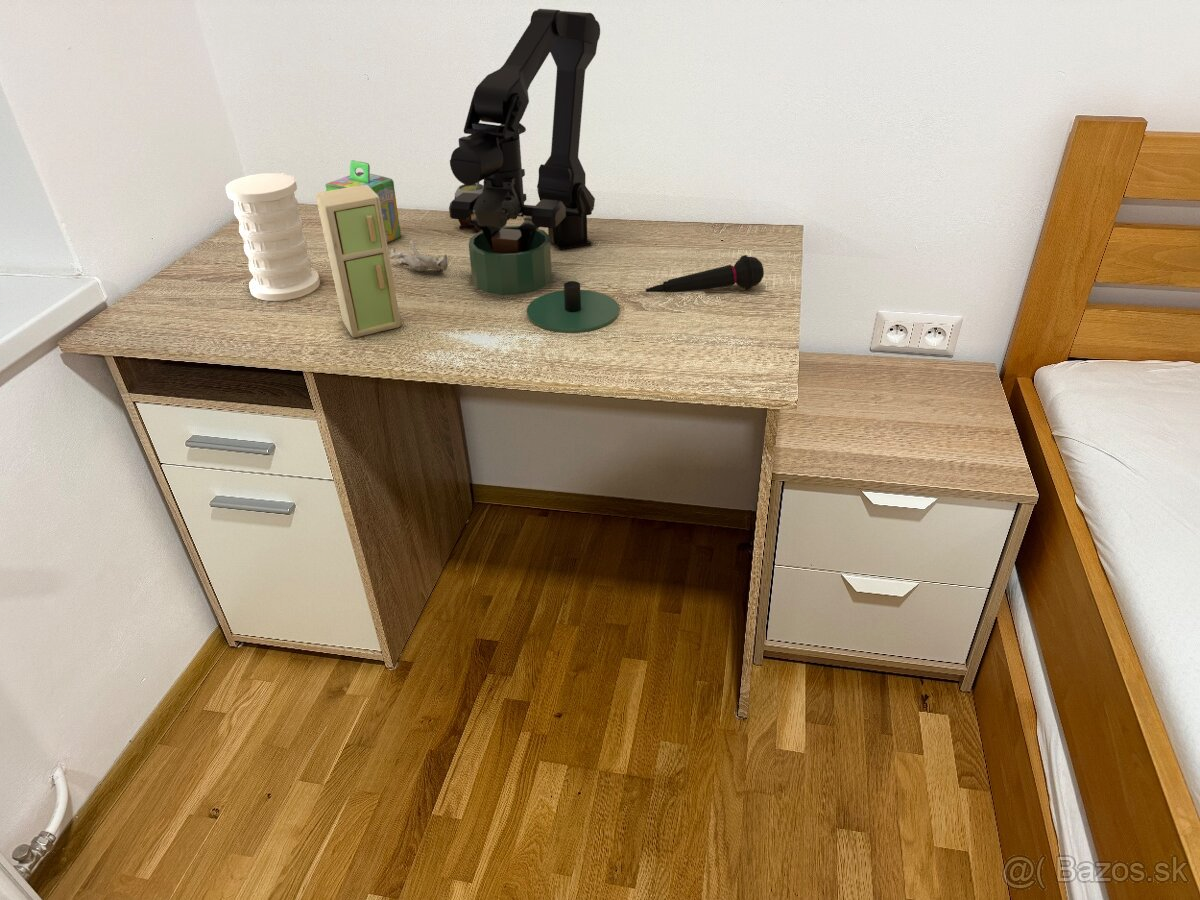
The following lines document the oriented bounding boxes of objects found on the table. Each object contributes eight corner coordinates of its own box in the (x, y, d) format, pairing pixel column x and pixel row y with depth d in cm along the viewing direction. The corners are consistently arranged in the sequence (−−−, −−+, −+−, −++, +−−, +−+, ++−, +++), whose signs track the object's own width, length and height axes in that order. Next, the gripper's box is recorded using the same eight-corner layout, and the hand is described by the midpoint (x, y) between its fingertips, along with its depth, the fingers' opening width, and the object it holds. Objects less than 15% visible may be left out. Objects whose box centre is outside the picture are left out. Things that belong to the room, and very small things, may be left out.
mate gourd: (455, 222, 174) (447, 147, 166) (494, 219, 176) (487, 143, 167) (459, 235, 168) (451, 157, 160) (499, 231, 170) (493, 154, 161)
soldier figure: (415, 262, 160) (463, 252, 154) (410, 286, 159) (459, 277, 153) (384, 242, 154) (433, 232, 148) (379, 267, 153) (428, 258, 146)
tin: (534, 260, 158) (532, 220, 153) (564, 288, 147) (562, 246, 143) (463, 274, 153) (458, 233, 149) (488, 303, 143) (484, 261, 138)
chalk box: (334, 243, 166) (319, 166, 157) (368, 228, 172) (355, 153, 164) (369, 252, 162) (355, 173, 153) (403, 237, 168) (391, 160, 160)
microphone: (650, 314, 145) (766, 293, 145) (648, 289, 140) (768, 267, 141) (644, 292, 148) (757, 271, 149) (642, 267, 144) (759, 245, 144)
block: (504, 257, 151) (501, 228, 148) (528, 260, 150) (526, 230, 146) (494, 268, 147) (491, 237, 144) (519, 270, 146) (517, 240, 143)
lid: (595, 289, 147) (594, 259, 144) (635, 323, 136) (635, 292, 133) (513, 306, 142) (511, 276, 139) (548, 344, 131) (546, 312, 128)
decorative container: (278, 270, 156) (254, 169, 146) (333, 277, 153) (312, 175, 142) (236, 295, 147) (207, 191, 137) (293, 304, 144) (267, 198, 133)
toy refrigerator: (352, 341, 133) (325, 207, 121) (341, 322, 138) (314, 192, 126) (403, 329, 136) (381, 197, 124) (390, 311, 141) (368, 183, 129)
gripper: (428, 177, 135) (441, 271, 144) (541, 187, 130) (546, 283, 139) (458, 157, 144) (468, 247, 153) (564, 165, 139) (568, 257, 148)
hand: (511, 258), depth 148 cm, fingers closed on block, 4 cm apart
